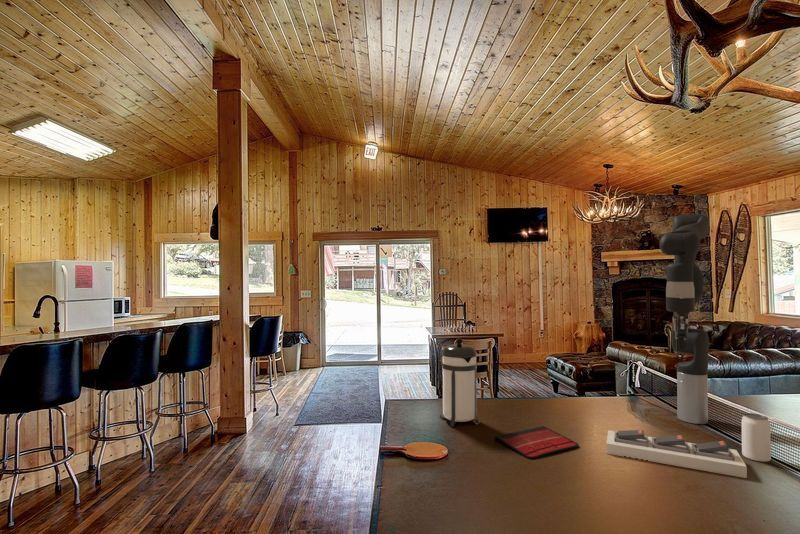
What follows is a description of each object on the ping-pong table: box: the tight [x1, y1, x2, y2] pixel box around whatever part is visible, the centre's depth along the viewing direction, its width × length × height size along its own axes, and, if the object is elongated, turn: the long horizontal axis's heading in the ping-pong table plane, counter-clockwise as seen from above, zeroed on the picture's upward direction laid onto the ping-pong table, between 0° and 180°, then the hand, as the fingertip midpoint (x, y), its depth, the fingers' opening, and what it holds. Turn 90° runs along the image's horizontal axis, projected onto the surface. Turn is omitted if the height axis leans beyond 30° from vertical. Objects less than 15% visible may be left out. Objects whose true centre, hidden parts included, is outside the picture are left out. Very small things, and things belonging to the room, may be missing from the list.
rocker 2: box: [655, 434, 686, 446], centre depth 125 cm, size 4×7×1 cm, turn 62°
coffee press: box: [439, 337, 481, 428], centre depth 157 cm, size 17×16×30 cm
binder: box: [494, 425, 579, 460], centre depth 135 cm, size 16×2×21 cm
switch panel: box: [606, 429, 748, 479], centre depth 125 cm, size 12×33×4 cm, turn 62°
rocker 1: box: [617, 429, 646, 439], centre depth 130 cm, size 4×7×1 cm, turn 62°
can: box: [741, 412, 772, 463], centre depth 125 cm, size 6×6×12 cm
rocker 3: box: [695, 440, 730, 453], centre depth 121 cm, size 4×7×1 cm, turn 62°
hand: (680, 351), depth 135 cm, fingers closed
